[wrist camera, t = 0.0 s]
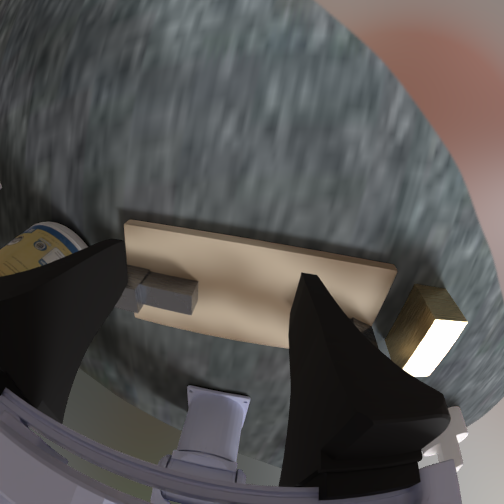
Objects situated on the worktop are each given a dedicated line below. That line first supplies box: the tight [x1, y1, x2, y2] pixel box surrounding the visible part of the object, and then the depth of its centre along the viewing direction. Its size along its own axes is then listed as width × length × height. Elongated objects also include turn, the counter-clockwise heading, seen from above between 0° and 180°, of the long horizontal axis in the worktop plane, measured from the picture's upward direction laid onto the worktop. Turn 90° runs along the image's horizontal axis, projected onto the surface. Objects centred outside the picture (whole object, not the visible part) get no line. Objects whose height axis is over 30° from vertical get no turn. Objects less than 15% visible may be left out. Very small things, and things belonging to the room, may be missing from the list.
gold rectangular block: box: [385, 284, 467, 377], centre depth 21 cm, size 4×7×5 cm, turn 172°
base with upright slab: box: [422, 406, 468, 472], centre depth 29 cm, size 9×9×12 cm
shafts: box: [115, 264, 378, 348], centre depth 22 cm, size 4×22×3 cm, turn 82°
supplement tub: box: [0, 222, 88, 277], centre depth 17 cm, size 12×12×17 cm
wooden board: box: [124, 219, 397, 348], centre depth 23 cm, size 10×22×1 cm, turn 82°
